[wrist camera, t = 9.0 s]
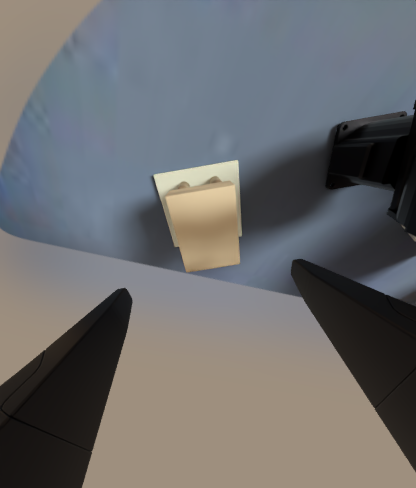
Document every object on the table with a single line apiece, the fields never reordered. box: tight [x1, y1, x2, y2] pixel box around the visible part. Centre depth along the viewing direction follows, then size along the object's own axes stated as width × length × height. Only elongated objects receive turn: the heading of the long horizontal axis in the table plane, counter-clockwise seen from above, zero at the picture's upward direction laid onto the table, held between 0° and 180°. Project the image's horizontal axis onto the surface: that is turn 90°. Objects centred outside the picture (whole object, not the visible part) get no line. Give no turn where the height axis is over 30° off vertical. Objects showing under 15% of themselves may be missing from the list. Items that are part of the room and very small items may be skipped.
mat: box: [154, 160, 242, 247], centre depth 20 cm, size 9×9×1 cm
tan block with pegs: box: [165, 176, 240, 273], centre depth 16 cm, size 7×5×7 cm
